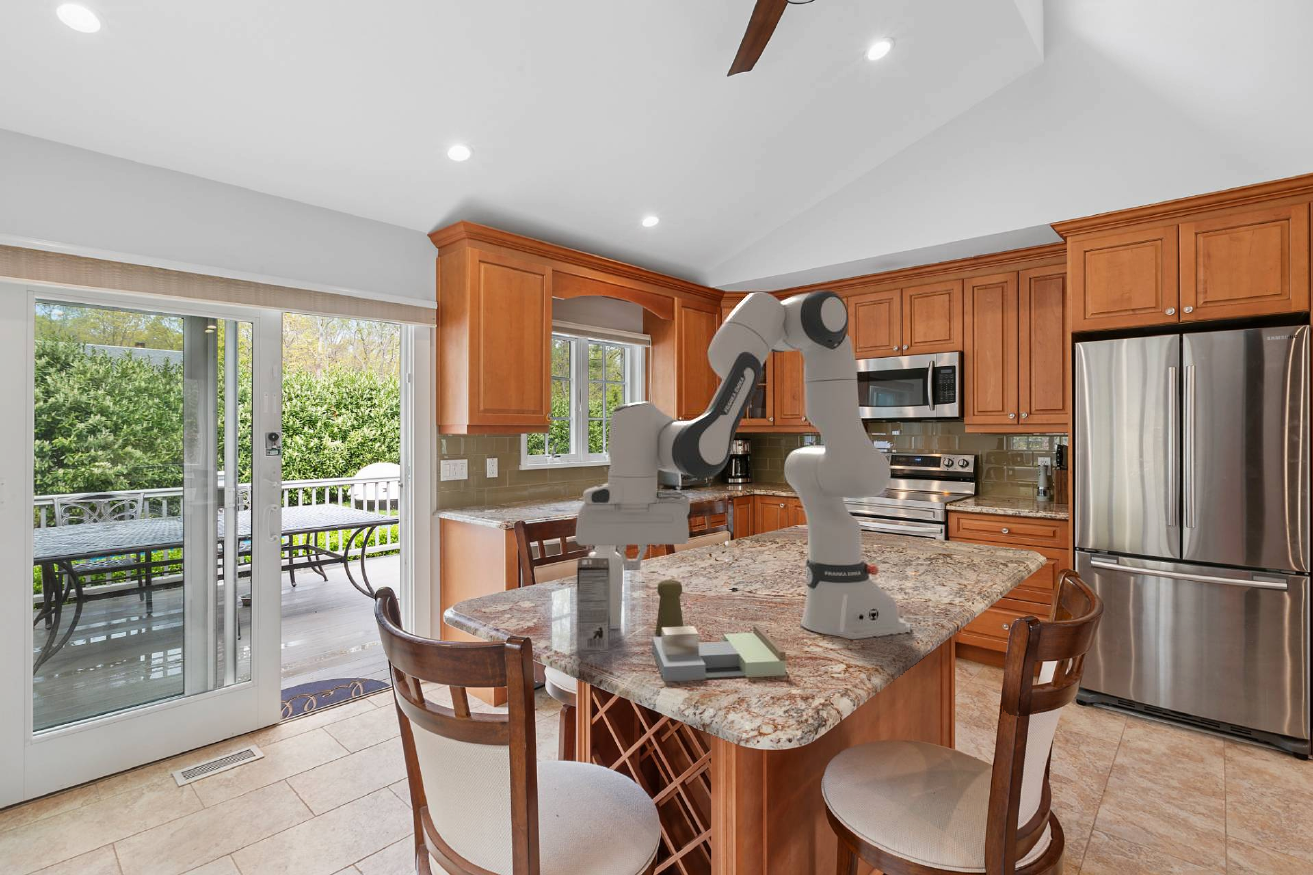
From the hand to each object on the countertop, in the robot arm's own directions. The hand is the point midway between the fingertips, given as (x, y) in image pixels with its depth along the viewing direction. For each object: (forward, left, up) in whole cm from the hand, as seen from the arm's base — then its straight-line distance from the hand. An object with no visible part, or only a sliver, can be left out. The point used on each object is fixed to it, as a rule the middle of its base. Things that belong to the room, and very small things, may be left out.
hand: (632, 569), depth 114 cm
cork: (-10, -18, -17) cm, 27 cm away
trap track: (-15, 0, -17) cm, 23 cm away
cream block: (-9, 0, -15) cm, 17 cm away
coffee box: (+6, -14, -17) cm, 23 cm away
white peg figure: (+3, -25, -17) cm, 31 cm away
